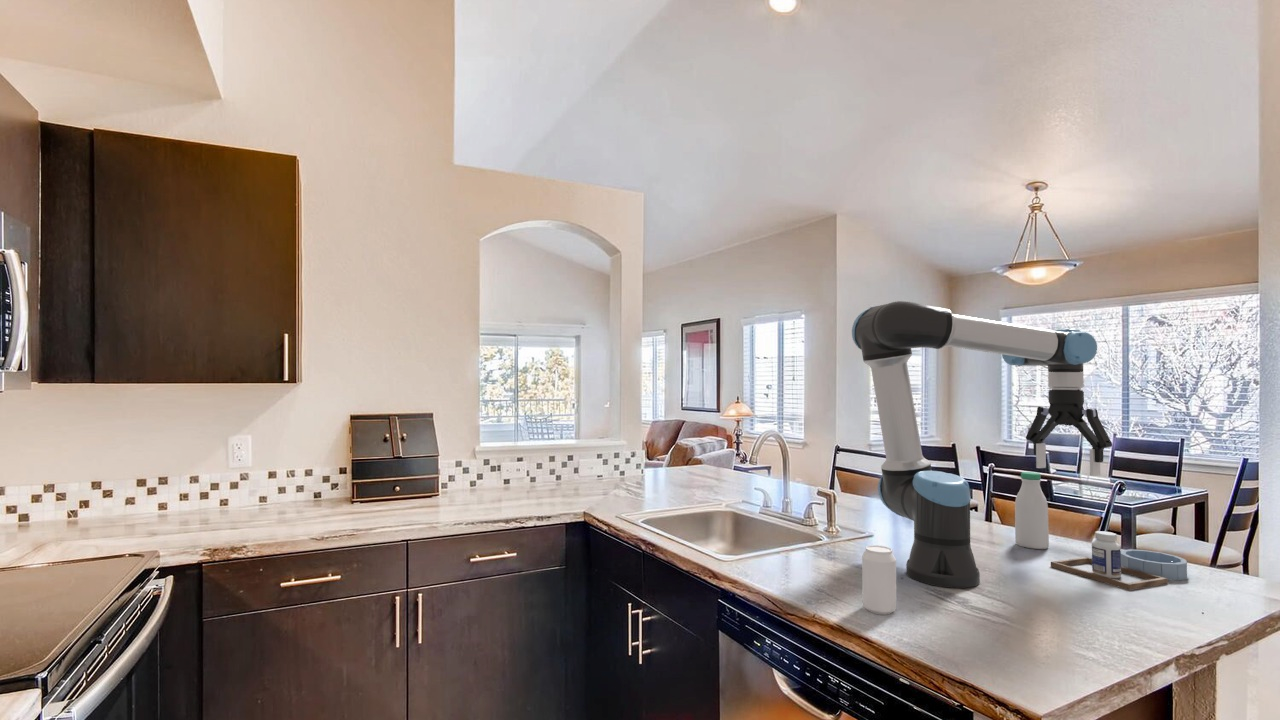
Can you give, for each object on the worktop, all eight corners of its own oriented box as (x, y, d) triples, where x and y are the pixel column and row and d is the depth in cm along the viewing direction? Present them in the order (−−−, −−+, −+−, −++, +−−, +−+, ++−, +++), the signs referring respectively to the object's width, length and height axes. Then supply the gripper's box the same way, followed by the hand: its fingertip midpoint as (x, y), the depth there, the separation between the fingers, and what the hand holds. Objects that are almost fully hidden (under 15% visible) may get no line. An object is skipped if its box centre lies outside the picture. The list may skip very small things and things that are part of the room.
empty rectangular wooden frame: (1129, 590, 132) (1129, 584, 132) (1050, 566, 149) (1050, 561, 149) (1167, 583, 137) (1167, 578, 137) (1086, 561, 153) (1086, 556, 153)
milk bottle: (1054, 550, 163) (1052, 475, 164) (1022, 549, 165) (1020, 474, 165) (1041, 543, 171) (1040, 471, 171) (1010, 541, 172) (1009, 470, 173)
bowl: (1165, 582, 138) (1165, 566, 138) (1109, 567, 149) (1108, 552, 149) (1199, 576, 142) (1199, 561, 142) (1141, 562, 153) (1141, 547, 153)
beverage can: (894, 618, 116) (893, 554, 116) (860, 612, 119) (859, 550, 119) (898, 608, 121) (897, 547, 122) (865, 602, 124) (864, 542, 125)
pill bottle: (1117, 573, 144) (1116, 531, 144) (1124, 580, 139) (1123, 536, 139) (1089, 570, 146) (1088, 529, 147) (1095, 576, 141) (1094, 534, 142)
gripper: (1128, 389, 148) (1130, 478, 147) (1029, 388, 171) (1030, 464, 171) (1108, 389, 145) (1110, 479, 145) (1010, 388, 169) (1011, 465, 168)
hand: (1067, 471), depth 158 cm, fingers open, 13 cm apart
